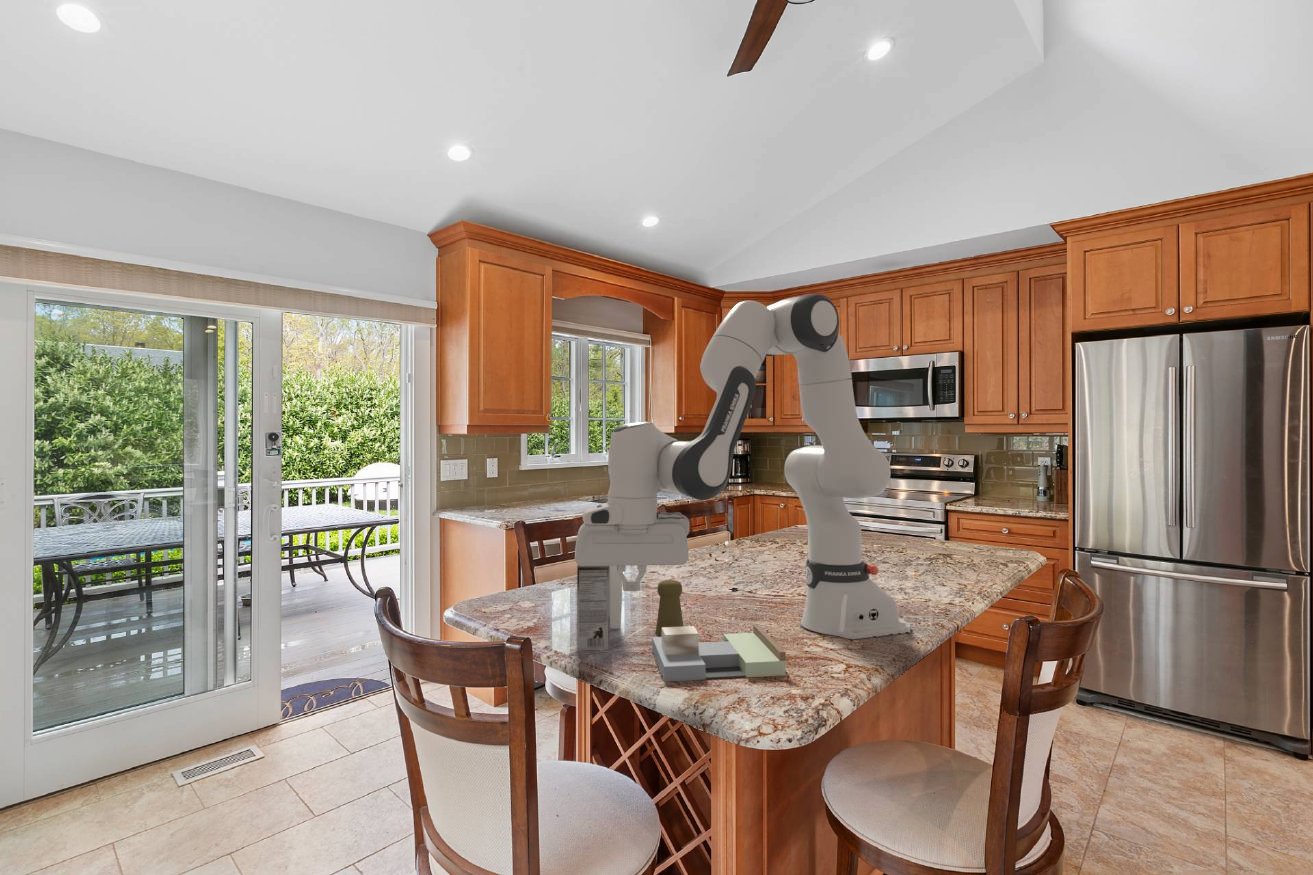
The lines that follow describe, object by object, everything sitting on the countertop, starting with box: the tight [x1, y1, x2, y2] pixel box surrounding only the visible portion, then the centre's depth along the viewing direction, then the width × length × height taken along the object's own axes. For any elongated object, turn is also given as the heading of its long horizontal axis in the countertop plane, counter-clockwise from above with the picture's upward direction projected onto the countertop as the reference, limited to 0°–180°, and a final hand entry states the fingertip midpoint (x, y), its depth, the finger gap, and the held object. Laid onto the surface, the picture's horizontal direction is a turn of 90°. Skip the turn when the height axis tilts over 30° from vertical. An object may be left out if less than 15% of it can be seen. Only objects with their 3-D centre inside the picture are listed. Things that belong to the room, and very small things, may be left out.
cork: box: [655, 579, 684, 637], centre depth 133 cm, size 6×6×11 cm
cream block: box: [662, 625, 700, 655], centre depth 115 cm, size 6×4×4 cm
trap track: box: [651, 624, 787, 682], centre depth 116 cm, size 21×16×4 cm
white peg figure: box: [610, 566, 624, 630], centre depth 139 cm, size 6×6×22 cm
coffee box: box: [576, 564, 611, 651], centre depth 127 cm, size 9×6×16 cm
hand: (631, 590), depth 114 cm, fingers closed
